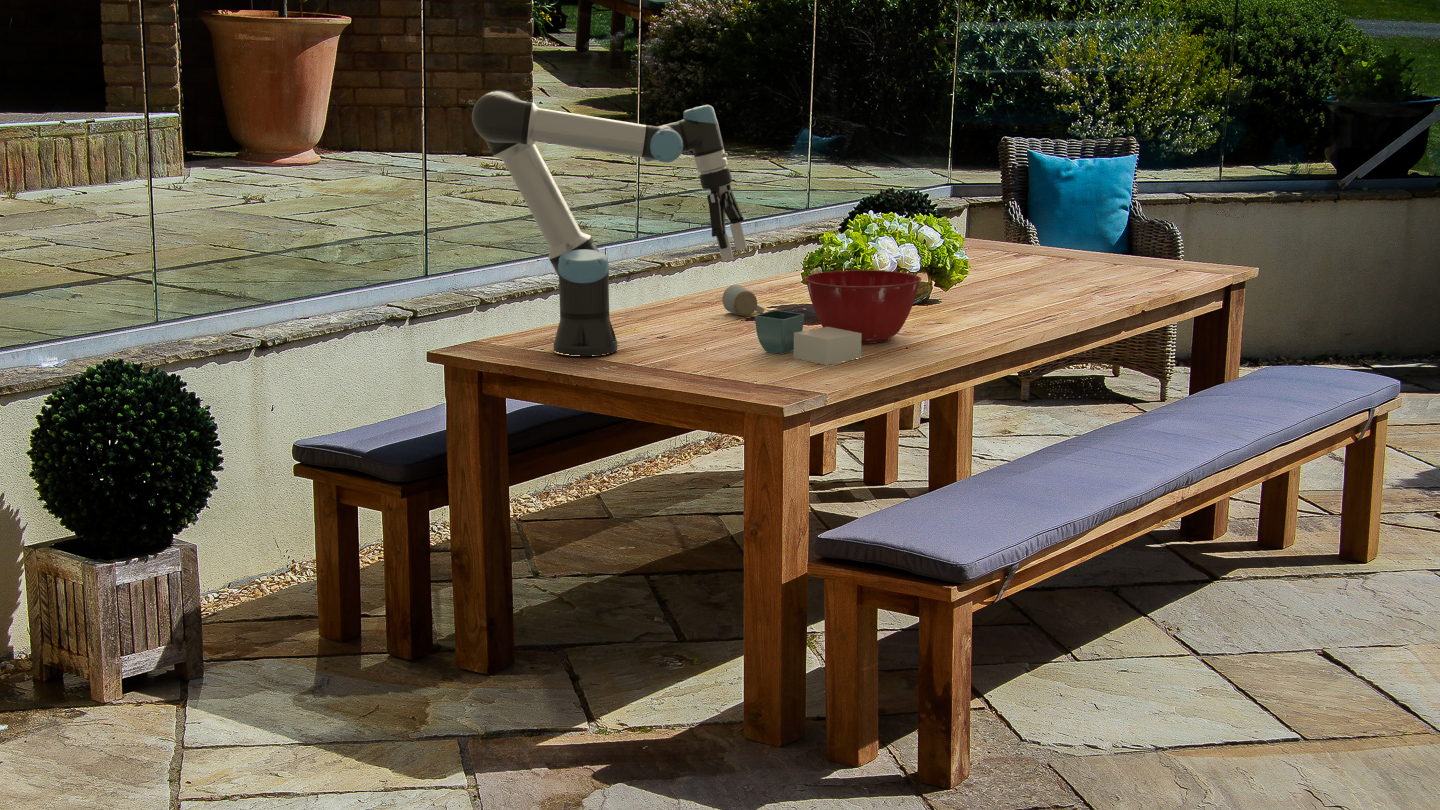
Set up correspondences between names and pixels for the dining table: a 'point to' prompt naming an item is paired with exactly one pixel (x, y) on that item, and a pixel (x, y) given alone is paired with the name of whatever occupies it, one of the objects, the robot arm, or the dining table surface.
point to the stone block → (827, 345)
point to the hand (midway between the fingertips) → (735, 254)
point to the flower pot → (778, 330)
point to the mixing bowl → (863, 301)
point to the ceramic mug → (740, 301)
